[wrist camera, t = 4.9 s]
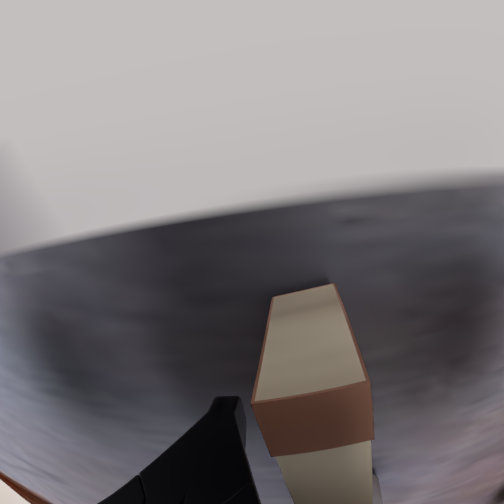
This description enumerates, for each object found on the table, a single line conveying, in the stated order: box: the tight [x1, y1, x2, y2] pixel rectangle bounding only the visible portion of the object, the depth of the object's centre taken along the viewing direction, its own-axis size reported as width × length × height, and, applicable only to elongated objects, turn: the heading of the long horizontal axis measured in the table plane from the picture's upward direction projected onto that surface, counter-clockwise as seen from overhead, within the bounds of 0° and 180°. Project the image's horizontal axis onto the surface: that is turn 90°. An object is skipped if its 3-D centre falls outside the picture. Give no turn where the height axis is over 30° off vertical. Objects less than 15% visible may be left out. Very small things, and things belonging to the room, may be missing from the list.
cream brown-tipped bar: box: [251, 283, 383, 504], centre depth 7 cm, size 11×3×4 cm, turn 15°
